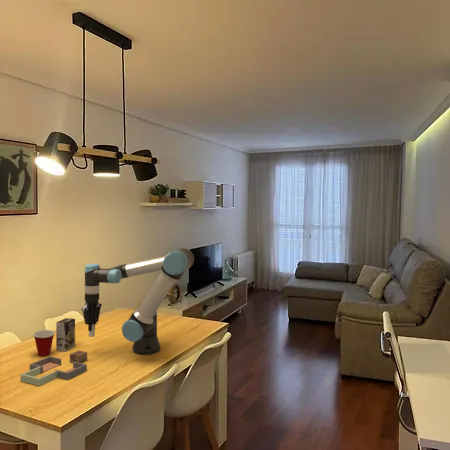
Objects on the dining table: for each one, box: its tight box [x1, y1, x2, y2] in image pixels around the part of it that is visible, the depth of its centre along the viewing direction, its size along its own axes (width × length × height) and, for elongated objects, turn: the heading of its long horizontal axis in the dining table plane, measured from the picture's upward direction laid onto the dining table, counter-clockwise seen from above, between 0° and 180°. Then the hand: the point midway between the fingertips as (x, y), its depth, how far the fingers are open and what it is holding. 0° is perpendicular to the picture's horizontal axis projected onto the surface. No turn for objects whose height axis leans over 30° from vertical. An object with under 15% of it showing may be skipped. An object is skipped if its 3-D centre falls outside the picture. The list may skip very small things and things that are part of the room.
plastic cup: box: [32, 329, 56, 357], centre depth 213 cm, size 11×11×12 cm
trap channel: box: [20, 355, 88, 387], centre depth 188 cm, size 25×22×3 cm
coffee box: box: [55, 317, 76, 352], centre depth 223 cm, size 9×6×16 cm
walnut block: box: [69, 349, 88, 364], centre depth 205 cm, size 6×6×4 cm
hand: (91, 336), depth 213 cm, fingers closed
